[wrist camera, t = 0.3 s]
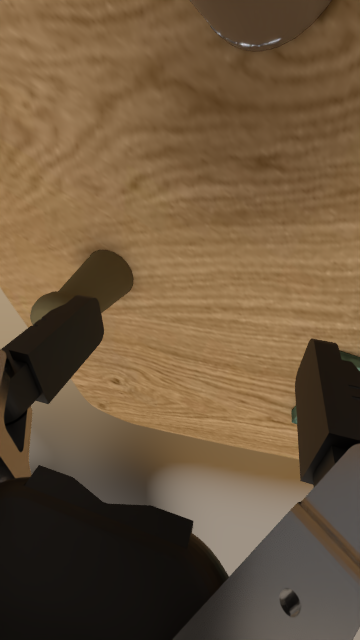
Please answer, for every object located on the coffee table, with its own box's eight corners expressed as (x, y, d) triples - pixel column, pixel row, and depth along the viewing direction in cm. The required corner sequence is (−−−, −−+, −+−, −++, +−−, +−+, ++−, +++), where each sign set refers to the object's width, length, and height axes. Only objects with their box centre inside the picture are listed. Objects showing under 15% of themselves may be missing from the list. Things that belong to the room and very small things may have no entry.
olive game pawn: (119, 304, 35) (66, 365, 26) (79, 273, 33) (12, 327, 25) (142, 274, 31) (89, 335, 22) (99, 238, 30) (26, 288, 21)
